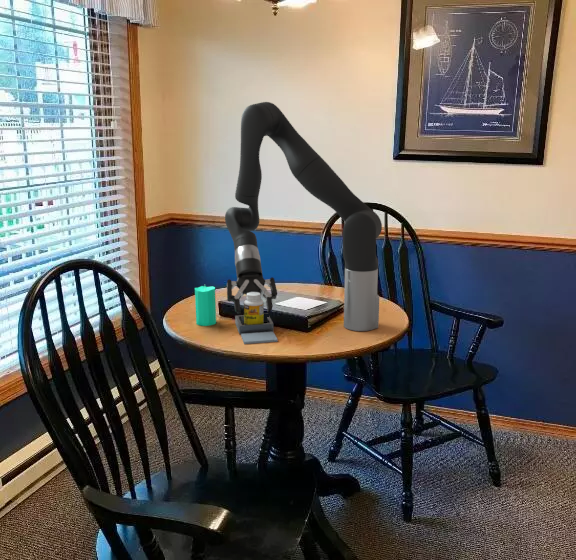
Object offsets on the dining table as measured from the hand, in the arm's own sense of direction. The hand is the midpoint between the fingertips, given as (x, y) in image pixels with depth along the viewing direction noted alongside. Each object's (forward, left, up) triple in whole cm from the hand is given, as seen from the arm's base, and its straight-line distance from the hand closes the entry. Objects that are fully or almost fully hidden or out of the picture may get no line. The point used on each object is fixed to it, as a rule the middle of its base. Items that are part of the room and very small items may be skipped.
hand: (254, 312), depth 167 cm
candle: (+13, -9, -5) cm, 17 cm away
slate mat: (0, +8, -5) cm, 10 cm away
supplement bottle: (0, -1, -5) cm, 6 cm away
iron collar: (0, -1, -5) cm, 5 cm away
